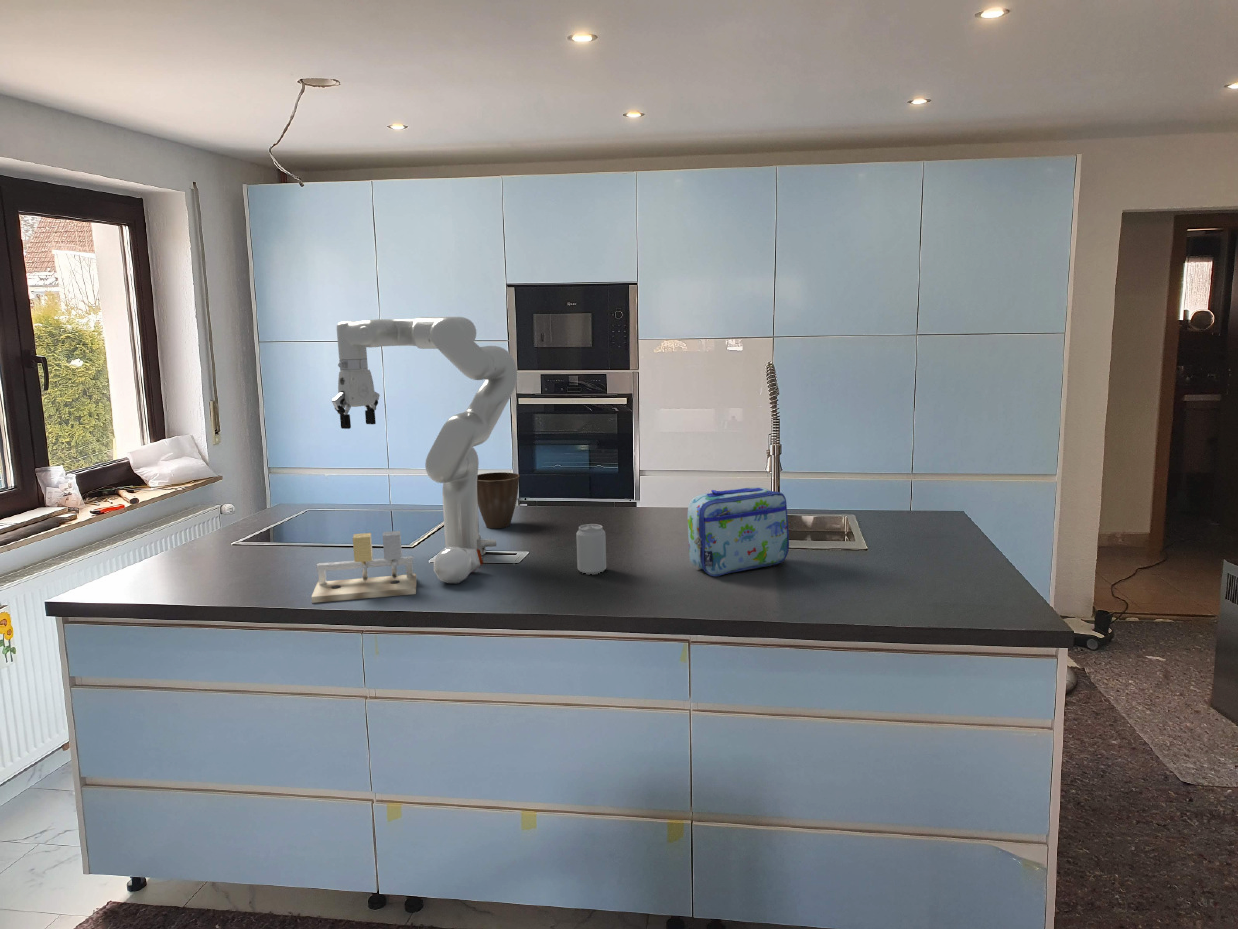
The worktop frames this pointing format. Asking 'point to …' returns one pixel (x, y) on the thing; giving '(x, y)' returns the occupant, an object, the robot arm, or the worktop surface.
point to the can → (591, 549)
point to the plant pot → (497, 497)
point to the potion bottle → (456, 563)
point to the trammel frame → (390, 559)
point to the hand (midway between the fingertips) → (358, 426)
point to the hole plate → (364, 588)
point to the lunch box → (737, 530)
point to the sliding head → (363, 551)
